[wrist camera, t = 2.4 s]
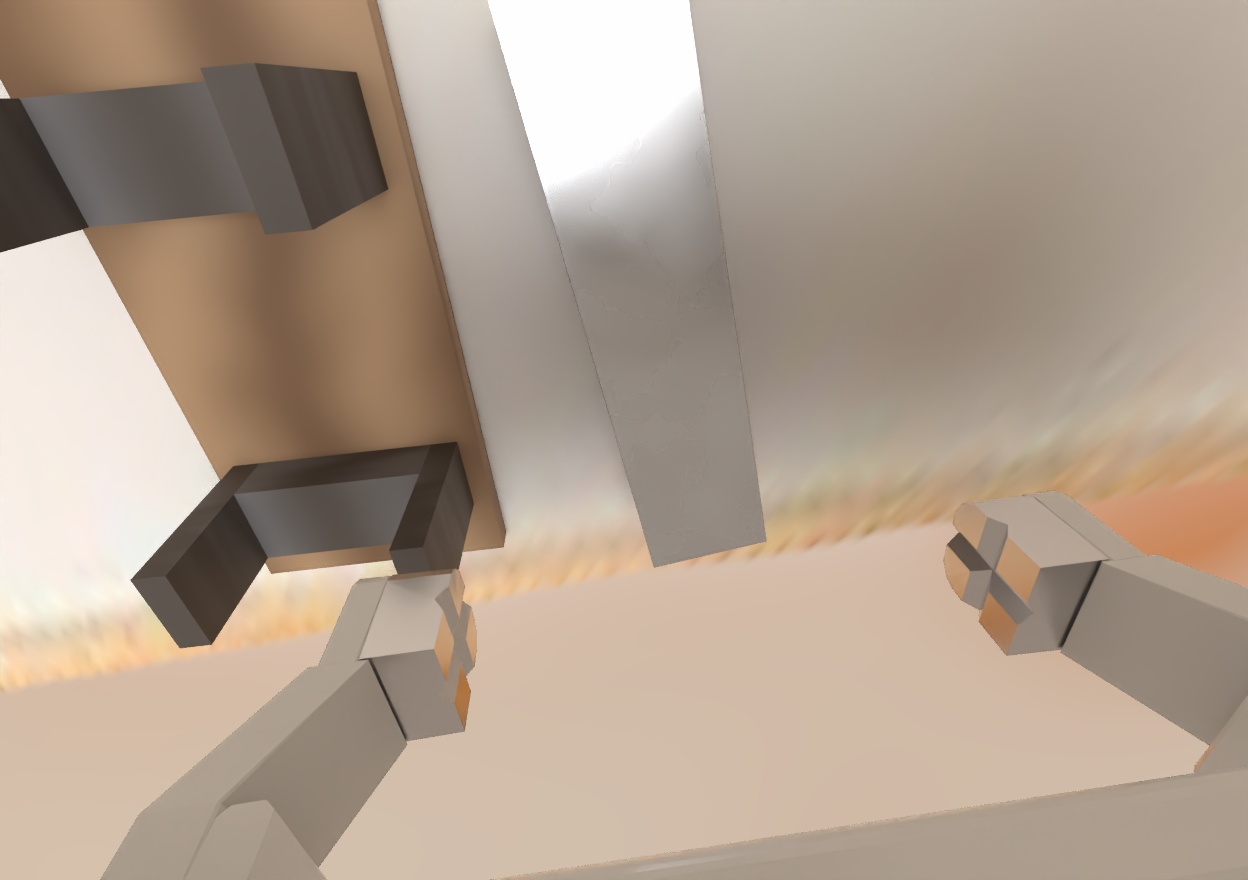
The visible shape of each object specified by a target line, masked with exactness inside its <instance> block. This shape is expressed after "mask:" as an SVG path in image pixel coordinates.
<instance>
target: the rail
mask: <svg viewBox="0 0 1248 880" xmlns="http://www.w3.org/2000/svg"><path fill="white" fill-rule="evenodd" d="M488 2H489V5H490V9H491V12H492V15H493V19H494V22H495V26H496V29H497V33H498V36H499V39H500V43H501V46H502V50H503V53H504V56H505V60H506V63H507V67H508V70H509V74H510V77H511V80H512V84H513V87H514V91H515V94H516V98H517V101H518V104H519V108H520V111H521V115H522V118H523V121H524V125H525V128H526V132H527V135H528V139H529V142H530V145H531V149H532V152H533V156H534V159H535V162H536V166H537V169H538V173H539V176H540V180H541V183H542V186H543V190H544V193H545V197H546V200H547V203H548V207H549V210H550V214H551V217H552V221H553V224H554V227H555V231H556V234H557V238H558V241H559V244H560V248H561V251H562V255H563V258H564V262H565V265H566V268H567V272H568V275H569V279H570V282H571V285H572V289H573V292H574V296H575V299H576V303H577V306H578V309H579V313H580V316H581V320H582V323H583V326H584V330H585V333H586V337H587V340H588V344H589V347H590V350H591V354H592V357H593V361H594V364H595V367H596V371H597V374H598V378H599V381H600V385H601V388H602V391H603V395H604V398H605V402H606V405H607V409H608V412H609V415H610V419H611V422H612V426H613V429H614V432H615V436H616V439H617V443H618V446H619V450H620V453H621V456H622V460H623V463H624V467H625V470H626V473H627V477H628V480H629V484H630V487H631V491H632V494H633V497H634V501H635V504H636V508H637V511H638V514H639V518H640V521H641V525H642V528H643V532H644V535H645V538H646V542H647V545H648V549H649V552H650V555H651V559H652V562H653V566H654V567H659V566H663V565H667V564H672V563H676V562H680V561H684V560H689V559H693V558H697V557H701V556H706V555H710V554H714V553H718V552H723V551H727V550H731V549H735V548H740V547H744V546H748V545H753V544H757V543H761V542H765V541H766V534H765V527H764V520H763V513H762V506H761V499H760V492H759V486H758V479H757V472H756V465H755V458H754V451H753V444H752V437H751V430H750V423H749V416H748V409H747V402H746V396H745V389H744V382H743V375H742V368H741V361H740V354H739V347H738V340H737V333H736V326H735V319H734V312H733V305H732V299H731V292H730V285H729V278H728V271H727V264H726V257H725V250H724V243H723V236H722V229H721V222H720V215H719V209H718V202H717V195H716V188H715V181H714V174H713V167H712V160H711V153H710V146H709V139H708V132H707V125H706V118H705V112H704V105H703V98H702V91H701V84H700V77H699V70H698V63H697V56H696V49H695V42H694V35H693V28H692V22H691V15H690V8H689V1H688V0H488Z"/></svg>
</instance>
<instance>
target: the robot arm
mask: <svg viewBox="0 0 1248 880" xmlns="http://www.w3.org/2000/svg"><path fill="white" fill-rule="evenodd" d="M953 525H954V526H955V528H956V529H957V531H958V532H959V533H958V534H957V535H956V536H955V537H954V538H953V539H952V540H951V541H950V542H949V543H948V544H947V546H946V551H945V556H944V565H945V571H946V576H947V579H948V581H949V583H950V585H951V587H952V589H953V590H954V591H955V593H956V594H957V595H958V597H959V598H960V599H961V600H962V601H963V602H965V603H967V604H969V605H971V606H973V607H975V608H977V609H979V623H980V624H981V625H982V626H983V628H984V629H985V630H986V631H987V633H988V634H989V635H990V636H991V637H992V639H993V640H994V641H995V642H996V643H997V645H998V646H999V647H1000V648H1001V650H1002V651H1003V652H1004V653H1005V654H1006V655H1007V656H1008V655H1017V654H1026V653H1034V652H1044V651H1052V650H1061V653H1062V654H1064V655H1065V656H1067V657H1069V658H1070V659H1072V660H1073V661H1075V662H1077V663H1078V664H1080V665H1081V666H1083V667H1085V668H1086V669H1088V670H1089V671H1091V672H1093V673H1094V674H1096V675H1098V676H1099V677H1101V678H1102V679H1104V680H1105V681H1107V682H1109V683H1110V684H1112V685H1114V686H1115V687H1117V688H1118V689H1120V690H1122V691H1123V692H1125V693H1126V694H1128V695H1130V696H1131V697H1133V698H1134V699H1136V700H1137V701H1139V702H1141V703H1142V704H1144V705H1145V706H1147V707H1149V708H1150V709H1152V710H1154V711H1155V712H1157V713H1158V714H1160V715H1161V716H1163V717H1165V718H1166V719H1168V720H1169V721H1171V722H1173V723H1174V724H1176V725H1178V726H1179V727H1181V728H1182V729H1184V730H1185V731H1187V732H1189V733H1190V734H1192V735H1194V736H1195V737H1197V738H1198V739H1200V740H1201V741H1203V742H1205V743H1206V744H1208V745H1209V747H1208V749H1207V750H1206V751H1205V753H1204V754H1203V755H1202V757H1201V758H1200V759H1199V761H1198V762H1197V764H1196V765H1195V768H1194V773H1192V774H1186V775H1179V776H1173V777H1166V778H1159V779H1153V780H1146V781H1139V782H1133V783H1126V784H1119V785H1113V786H1106V787H1100V788H1094V789H1086V790H1080V791H1073V792H1067V793H1060V794H1053V795H1047V796H1040V797H1033V798H1027V799H1020V800H1013V801H1006V802H1000V803H994V804H987V805H980V806H974V807H967V808H960V809H954V810H947V811H940V812H933V813H927V814H920V815H913V816H907V817H900V818H894V819H887V820H880V821H874V822H867V823H861V824H854V825H847V826H841V827H834V828H828V829H821V830H815V831H808V832H801V833H795V834H788V835H782V836H775V837H769V838H762V839H755V840H749V841H742V842H736V843H729V844H722V845H716V846H709V847H703V848H696V849H690V850H684V851H677V852H670V853H663V854H657V855H651V856H643V857H637V858H630V859H623V860H617V861H611V862H604V863H598V864H590V865H584V866H577V867H571V868H565V869H558V870H551V871H545V872H538V873H532V874H525V875H518V876H512V877H505V878H498V879H491V880H1248V588H1247V587H1244V586H1241V585H1239V584H1236V583H1233V582H1230V581H1228V580H1225V579H1222V578H1219V577H1217V576H1214V575H1211V574H1209V573H1206V572H1203V571H1200V570H1197V569H1195V568H1192V567H1189V566H1187V565H1184V564H1181V563H1178V562H1176V561H1173V560H1170V559H1167V558H1165V557H1162V556H1159V555H1147V556H1146V555H1145V554H1143V553H1142V552H1141V551H1140V550H1138V549H1137V548H1135V547H1134V546H1133V545H1132V544H1130V543H1129V542H1128V541H1126V540H1125V539H1124V538H1122V537H1121V536H1120V535H1119V534H1117V533H1116V532H1115V531H1113V530H1112V529H1111V528H1109V527H1108V526H1107V525H1106V524H1104V523H1103V522H1102V521H1100V520H1099V519H1098V518H1096V517H1095V516H1094V515H1093V514H1091V513H1090V512H1089V511H1087V510H1086V509H1085V508H1083V507H1082V506H1081V505H1080V504H1078V503H1077V502H1076V501H1074V500H1073V499H1072V498H1070V497H1069V496H1068V495H1066V494H1064V493H1061V492H1058V491H1055V490H1054V491H1047V492H1040V493H1034V494H1027V495H1023V496H1016V497H1009V498H1001V499H994V500H986V501H979V502H972V503H964V504H962V505H961V506H960V507H959V509H958V510H957V511H956V514H955V517H954V520H953ZM464 589H465V585H464V582H463V579H462V577H461V574H460V571H458V570H457V569H446V570H437V571H427V572H417V573H408V574H398V575H392V576H385V577H376V578H366V579H360V580H359V581H357V582H356V583H355V584H354V585H353V586H352V588H351V591H350V593H349V595H348V598H347V600H346V602H345V605H344V607H343V609H342V612H341V614H340V616H339V619H338V621H337V623H336V626H335V628H334V630H333V633H332V635H331V637H330V640H329V642H328V644H327V647H326V649H325V651H324V654H323V656H322V658H321V661H320V663H319V665H318V666H316V667H309V668H307V669H306V670H304V671H303V672H302V673H301V674H300V675H299V676H298V677H296V678H295V679H294V680H293V681H292V682H291V683H290V684H289V685H287V686H286V687H285V688H284V689H283V690H282V691H280V692H279V693H278V694H277V695H276V696H275V697H274V698H272V699H271V700H270V701H269V702H268V703H267V704H265V705H264V706H263V707H262V708H261V709H260V710H259V711H257V712H256V713H255V714H254V715H253V716H252V717H251V718H249V719H248V720H247V721H246V722H245V723H244V724H243V725H241V726H240V727H239V728H238V729H237V730H235V731H234V732H233V733H232V734H231V735H230V736H229V737H228V738H226V739H225V740H224V741H223V742H222V743H221V744H219V745H218V746H217V747H216V748H215V749H214V750H213V751H211V752H210V753H209V754H208V755H207V756H206V757H204V758H203V759H202V760H201V761H200V762H199V763H198V764H197V765H195V766H194V767H193V768H192V769H191V770H189V771H188V772H187V773H186V774H185V775H184V776H183V777H181V778H180V779H179V780H178V781H177V782H176V783H175V784H173V785H172V786H171V787H170V788H169V789H168V790H167V791H165V792H164V793H163V794H162V795H161V796H160V797H158V798H157V799H156V800H155V801H154V802H153V803H151V804H150V805H149V806H148V807H147V808H146V809H145V810H143V811H142V812H141V813H140V814H139V815H138V817H137V818H136V820H135V822H134V824H133V825H132V827H131V829H130V830H129V832H128V834H127V836H126V837H125V839H124V841H123V842H122V844H121V846H120V847H119V849H118V851H117V852H116V854H115V856H114V858H113V859H112V861H111V862H110V864H109V866H108V868H107V869H106V871H105V872H104V874H103V876H102V878H101V879H100V880H327V879H326V878H325V876H324V875H323V874H322V872H321V871H320V870H319V868H318V867H319V866H320V865H321V863H322V862H323V861H324V859H325V858H326V856H327V855H328V854H329V852H330V851H331V849H332V848H333V846H334V845H335V844H336V843H337V841H338V840H339V838H340V837H341V836H342V834H343V833H344V831H345V830H346V829H347V827H348V826H349V824H350V823H351V822H352V820H353V819H354V818H355V816H356V815H357V814H358V812H359V811H360V809H361V808H362V806H363V805H364V804H365V802H366V801H367V799H368V798H369V797H370V796H371V794H372V793H373V791H374V790H375V789H376V787H377V786H378V785H379V783H380V782H381V780H382V779H383V778H384V776H385V775H386V773H387V772H388V771H389V769H390V768H391V767H392V765H393V764H394V762H395V761H396V760H397V758H398V757H399V756H400V754H401V752H402V751H403V750H404V749H405V747H406V746H407V742H406V741H410V740H417V739H423V738H428V737H435V736H440V735H446V734H452V733H458V732H464V731H465V726H466V720H467V713H468V707H469V700H470V694H471V690H470V688H469V685H468V682H467V678H466V676H467V674H468V673H469V672H470V671H471V670H472V669H473V668H474V666H475V659H476V651H477V640H476V639H477V638H476V637H477V633H476V626H475V619H474V615H473V612H472V608H471V606H469V605H468V604H466V603H465V602H464V601H462V600H463V594H464Z"/></svg>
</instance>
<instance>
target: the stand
mask: <svg viewBox="0 0 1248 880" xmlns="http://www.w3.org/2000/svg"><path fill="white" fill-rule="evenodd" d="M0 79H1V81H2V83H3V85H4V87H5V88H6V90H7V92H8V94H9V96H10V98H11V99H0V252H4V251H7V250H11V249H14V248H18V247H21V246H25V245H28V244H32V243H35V242H39V241H43V240H46V239H50V238H53V237H57V236H60V235H64V234H67V233H71V232H74V231H78V230H81V229H83V231H84V233H85V235H86V236H87V238H88V240H89V242H90V244H91V245H92V247H93V249H94V251H95V253H96V255H97V256H98V258H99V260H100V262H101V264H102V266H103V267H104V269H105V271H106V273H107V275H108V277H109V278H110V280H111V282H112V284H113V286H114V287H115V289H116V291H117V293H118V295H119V297H120V298H121V300H122V302H123V304H124V306H125V308H126V309H127V311H128V313H129V315H130V317H131V319H132V320H133V322H134V324H135V326H136V328H137V329H138V331H139V333H140V335H141V337H142V339H143V340H144V342H145V344H146V346H147V348H148V350H149V351H150V353H151V355H152V357H153V359H154V361H155V362H156V364H157V366H158V368H159V370H160V371H161V373H162V375H163V377H164V379H165V381H166V382H167V384H168V386H169V388H170V390H171V392H172V393H173V395H174V397H175V399H176V401H177V403H178V404H179V406H180V408H181V410H182V412H183V413H184V415H185V417H186V419H187V421H188V423H189V424H190V426H191V428H192V430H193V432H194V434H195V435H196V437H197V439H198V441H199V443H200V445H201V446H202V448H203V450H204V452H205V454H206V455H207V457H208V459H209V461H210V463H211V465H212V466H213V468H214V470H215V472H216V474H217V476H218V477H219V479H220V481H219V483H218V484H217V485H216V486H215V487H214V488H213V489H212V490H211V491H210V493H209V494H208V495H207V496H206V497H205V498H204V499H203V500H202V501H201V502H200V504H199V505H198V506H197V507H196V508H195V509H194V510H193V511H192V512H191V514H190V515H189V516H188V517H187V518H186V519H185V520H184V521H183V522H182V524H181V525H180V526H179V527H178V528H177V529H176V530H175V531H174V532H173V534H172V535H171V536H170V537H169V538H168V539H167V540H166V541H165V542H164V544H163V545H162V546H161V547H160V548H159V549H158V550H157V551H156V552H155V553H154V555H153V556H152V557H151V558H150V559H149V560H148V561H147V562H146V563H145V565H144V566H143V567H142V568H141V569H140V570H139V571H138V572H137V573H136V575H135V576H134V577H133V578H132V579H131V582H132V583H133V584H134V586H135V587H136V589H137V590H138V591H139V593H140V594H141V595H142V597H143V598H144V600H145V601H146V602H147V604H148V605H149V606H150V608H151V609H152V611H153V612H154V613H155V615H156V616H157V617H158V619H159V620H160V621H161V623H162V624H163V626H164V627H165V628H166V630H167V631H168V632H169V634H170V635H171V637H172V638H173V639H174V641H175V642H176V643H177V645H178V646H179V648H187V647H195V646H204V645H212V643H213V642H214V640H215V639H216V637H217V636H218V634H219V633H220V631H221V630H222V628H223V626H224V625H225V623H226V622H227V620H228V619H229V617H230V616H231V614H232V613H233V611H234V610H235V608H236V606H237V605H238V603H239V602H240V600H241V599H242V597H243V596H244V594H245V593H246V591H247V590H248V588H249V586H250V585H251V583H252V582H253V580H254V579H255V577H256V576H257V574H258V573H259V571H260V570H261V568H262V566H263V565H264V563H266V565H267V567H268V569H269V571H270V572H271V574H273V573H281V572H290V571H299V570H308V569H317V568H326V567H334V566H343V565H352V564H361V563H370V562H378V561H387V560H393V563H394V566H395V568H396V571H397V573H398V574H408V573H417V572H427V571H437V570H446V569H457V570H458V569H459V565H460V561H461V557H462V552H466V551H475V550H484V549H493V548H502V547H504V542H505V535H506V530H505V526H504V522H503V518H502V514H501V510H500V506H499V502H498V498H497V493H496V489H495V485H494V481H493V477H492V473H491V469H490V465H489V461H488V456H487V452H486V448H485V444H484V440H483V436H482V432H481V428H480V424H479V420H478V415H477V411H476V407H475V403H474V399H473V395H472V391H471V387H470V383H469V378H468V374H467V370H466V366H465V362H464V358H463V354H462V350H461V346H460V342H459V337H458V333H457V329H456V325H455V321H454V317H453V313H452V309H451V305H450V301H449V296H448V292H447V288H446V284H445V280H444V276H443V272H442V268H441V264H440V259H439V255H438V251H437V247H436V243H435V239H434V235H433V231H432V227H431V223H430V218H429V214H428V210H427V206H426V202H425V198H424V194H423V190H422V186H421V181H420V177H419V173H418V169H417V165H416V161H415V157H414V153H413V149H412V145H411V140H410V136H409V132H408V128H407V124H406V120H405V116H404V112H403V108H402V104H401V99H400V95H399V91H398V87H397V83H396V79H395V75H394V71H393V67H392V62H391V58H390V54H389V50H388V46H387V42H386V38H385V34H384V30H383V26H382V21H381V17H380V13H379V9H378V5H377V1H376V0H0Z"/></svg>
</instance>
